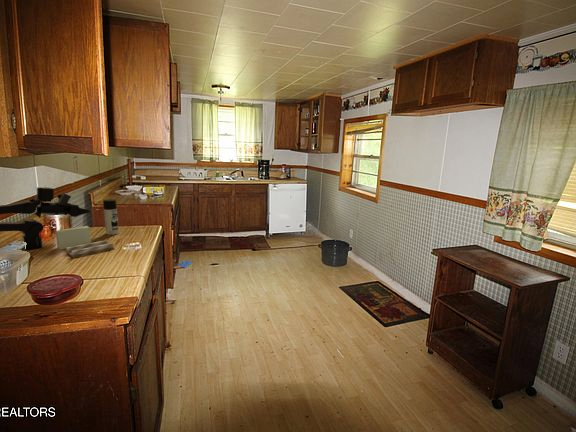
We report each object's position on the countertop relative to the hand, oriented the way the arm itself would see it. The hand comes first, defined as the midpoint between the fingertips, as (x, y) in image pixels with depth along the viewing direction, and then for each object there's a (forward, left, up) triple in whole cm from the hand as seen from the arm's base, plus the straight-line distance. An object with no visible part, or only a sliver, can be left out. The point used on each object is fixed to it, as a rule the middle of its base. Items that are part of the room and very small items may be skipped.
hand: (86, 210), depth 171 cm
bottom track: (-8, -23, -16) cm, 29 cm away
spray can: (+13, +2, -16) cm, 21 cm away
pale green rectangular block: (-10, -8, -16) cm, 21 cm away
